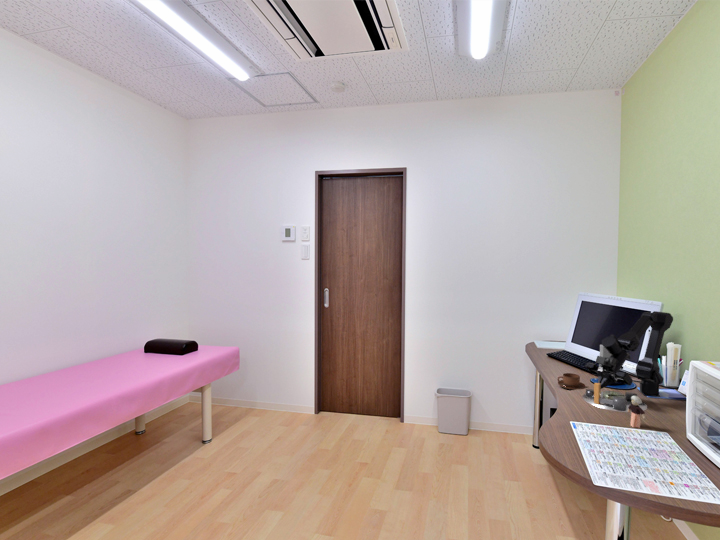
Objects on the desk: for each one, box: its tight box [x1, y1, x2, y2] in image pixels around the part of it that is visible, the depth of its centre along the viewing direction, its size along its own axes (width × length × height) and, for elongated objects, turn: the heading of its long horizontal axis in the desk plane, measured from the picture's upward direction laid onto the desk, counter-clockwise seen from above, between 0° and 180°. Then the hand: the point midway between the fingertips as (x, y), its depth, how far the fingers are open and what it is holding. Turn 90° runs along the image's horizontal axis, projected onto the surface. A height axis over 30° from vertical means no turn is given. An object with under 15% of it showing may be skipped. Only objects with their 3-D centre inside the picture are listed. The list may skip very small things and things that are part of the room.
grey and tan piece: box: [593, 382, 627, 410], centre depth 169 cm, size 12×5×8 cm, turn 41°
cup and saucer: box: [557, 372, 586, 391], centre depth 197 cm, size 12×12×6 cm
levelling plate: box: [582, 388, 648, 413], centre depth 175 cm, size 24×24×5 cm
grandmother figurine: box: [627, 395, 647, 429], centre depth 150 cm, size 8×4×13 cm, turn 21°
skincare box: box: [598, 344, 611, 368], centre depth 216 cm, size 8×7×16 cm
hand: (598, 388), depth 174 cm, fingers closed
